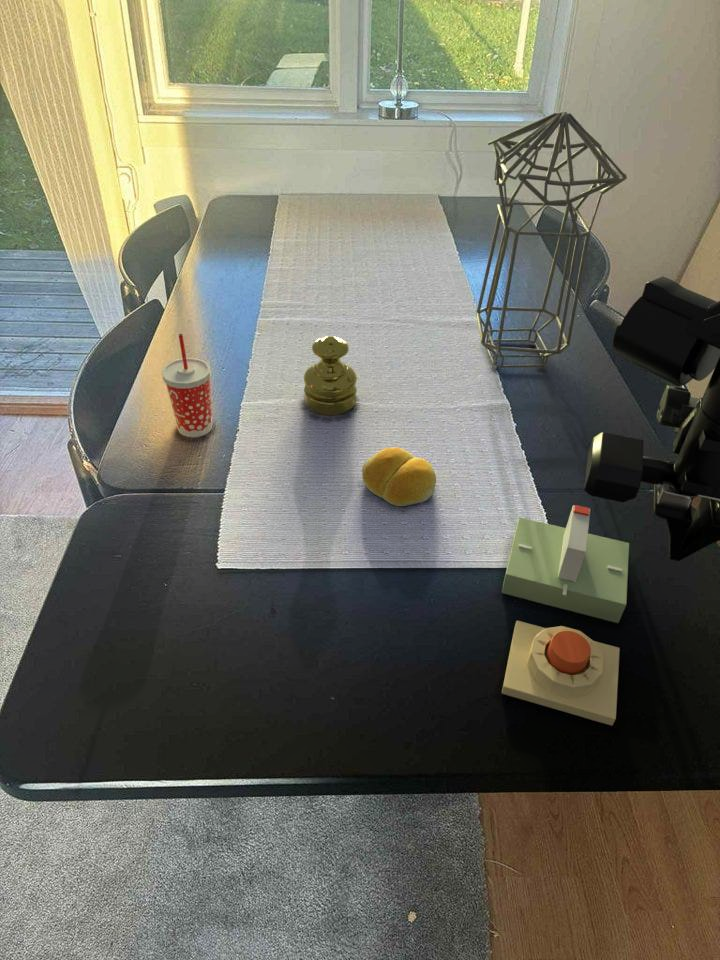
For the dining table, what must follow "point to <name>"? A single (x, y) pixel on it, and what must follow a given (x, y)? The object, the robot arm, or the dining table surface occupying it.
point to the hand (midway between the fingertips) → (673, 556)
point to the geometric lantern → (543, 133)
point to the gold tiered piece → (330, 379)
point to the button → (568, 652)
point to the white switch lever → (574, 543)
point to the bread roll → (399, 477)
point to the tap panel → (538, 579)
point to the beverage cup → (189, 393)
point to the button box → (562, 675)
